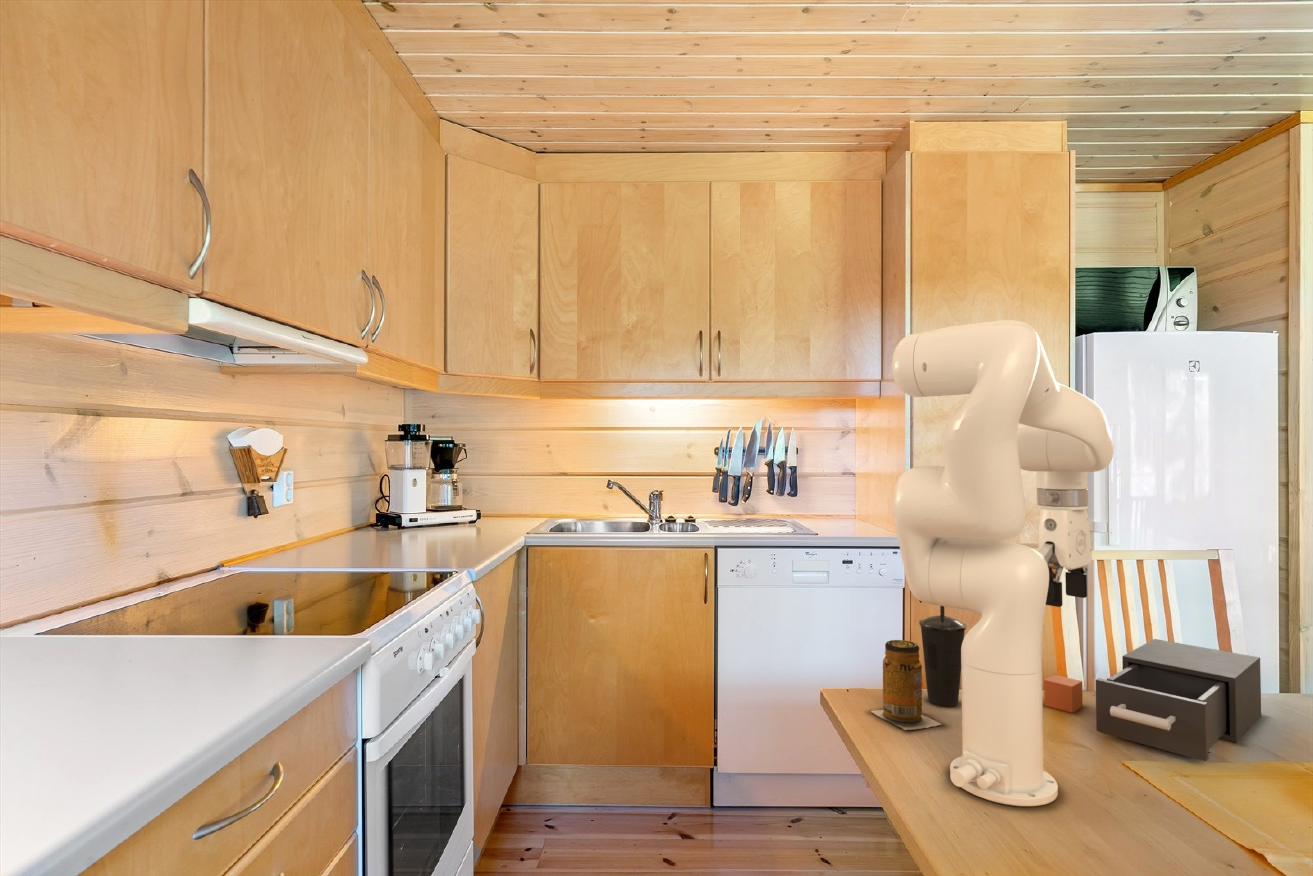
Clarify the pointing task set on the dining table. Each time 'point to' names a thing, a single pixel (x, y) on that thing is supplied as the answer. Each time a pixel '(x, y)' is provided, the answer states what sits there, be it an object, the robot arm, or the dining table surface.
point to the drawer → (1163, 709)
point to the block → (1063, 693)
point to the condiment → (903, 687)
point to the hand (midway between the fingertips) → (1064, 600)
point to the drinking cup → (942, 657)
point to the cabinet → (1211, 676)
